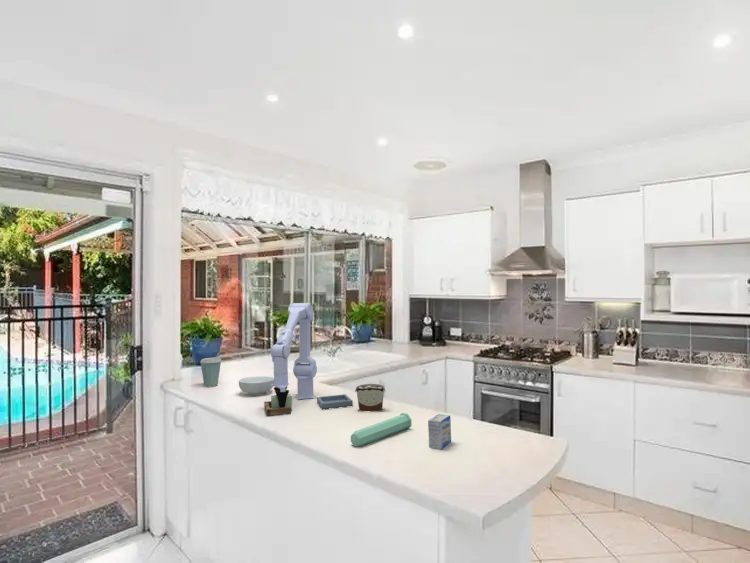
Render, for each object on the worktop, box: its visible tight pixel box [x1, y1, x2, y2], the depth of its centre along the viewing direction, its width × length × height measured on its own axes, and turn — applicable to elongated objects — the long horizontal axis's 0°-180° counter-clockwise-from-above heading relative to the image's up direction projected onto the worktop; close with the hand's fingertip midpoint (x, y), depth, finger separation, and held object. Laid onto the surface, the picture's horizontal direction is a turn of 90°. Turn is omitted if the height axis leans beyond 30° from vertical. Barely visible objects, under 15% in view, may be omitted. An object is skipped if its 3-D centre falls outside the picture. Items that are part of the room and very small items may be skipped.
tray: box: [316, 393, 354, 410], centre depth 192 cm, size 12×13×2 cm
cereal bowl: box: [238, 375, 274, 396], centre depth 217 cm, size 17×17×7 cm
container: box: [350, 412, 413, 448], centre depth 150 cm, size 6×6×25 cm
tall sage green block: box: [270, 393, 293, 412], centre depth 185 cm, size 4×8×6 cm, turn 108°
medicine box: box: [427, 413, 452, 450], centre depth 141 cm, size 8×4×9 cm, turn 148°
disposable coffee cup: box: [199, 356, 222, 388], centre depth 236 cm, size 11×11×15 cm
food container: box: [354, 383, 386, 413], centre depth 183 cm, size 12×6×10 cm, turn 84°
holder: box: [263, 400, 292, 417], centre depth 185 cm, size 14×10×2 cm
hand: (281, 405), depth 185 cm, fingers closed on tall sage green block, 4 cm apart
